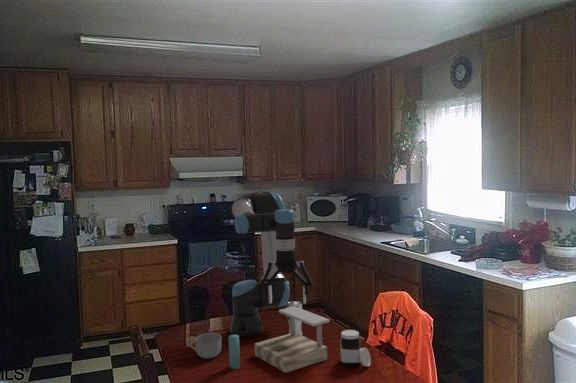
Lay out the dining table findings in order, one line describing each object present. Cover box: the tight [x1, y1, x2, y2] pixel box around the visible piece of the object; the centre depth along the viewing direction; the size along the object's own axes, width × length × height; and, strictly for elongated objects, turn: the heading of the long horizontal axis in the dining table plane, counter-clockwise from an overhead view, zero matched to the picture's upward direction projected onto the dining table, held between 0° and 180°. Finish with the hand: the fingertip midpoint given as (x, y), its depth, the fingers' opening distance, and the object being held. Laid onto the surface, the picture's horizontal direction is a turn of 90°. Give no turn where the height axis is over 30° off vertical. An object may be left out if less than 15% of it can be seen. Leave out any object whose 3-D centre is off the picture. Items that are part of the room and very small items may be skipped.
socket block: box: [254, 333, 328, 373], centre depth 199 cm, size 22×20×5 cm
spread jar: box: [339, 329, 372, 368], centre depth 191 cm, size 12×11×12 cm
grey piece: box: [278, 306, 330, 348], centre depth 203 cm, size 24×8×11 cm, turn 35°
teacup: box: [187, 332, 222, 360], centre depth 204 cm, size 14×11×8 cm
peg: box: [228, 334, 241, 370], centre depth 192 cm, size 4×4×12 cm
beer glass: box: [286, 300, 303, 336], centre depth 224 cm, size 7×7×15 cm
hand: (287, 302), depth 195 cm, fingers open, 13 cm apart
